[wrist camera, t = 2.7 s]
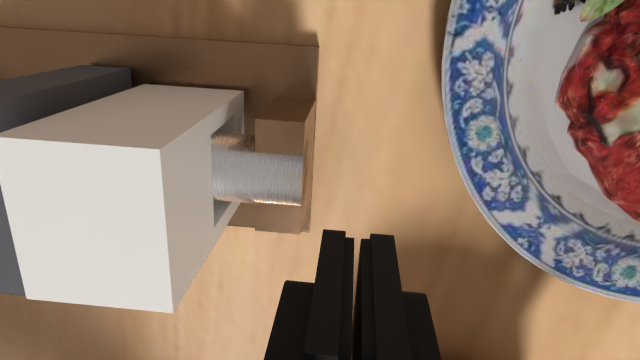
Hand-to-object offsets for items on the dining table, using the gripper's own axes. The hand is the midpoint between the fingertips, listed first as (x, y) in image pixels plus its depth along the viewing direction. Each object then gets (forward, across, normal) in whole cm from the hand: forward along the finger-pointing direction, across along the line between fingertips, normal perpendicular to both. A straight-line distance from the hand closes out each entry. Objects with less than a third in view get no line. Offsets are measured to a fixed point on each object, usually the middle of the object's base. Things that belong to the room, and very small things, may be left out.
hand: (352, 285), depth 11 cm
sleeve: (+12, +8, +1) cm, 15 cm away
